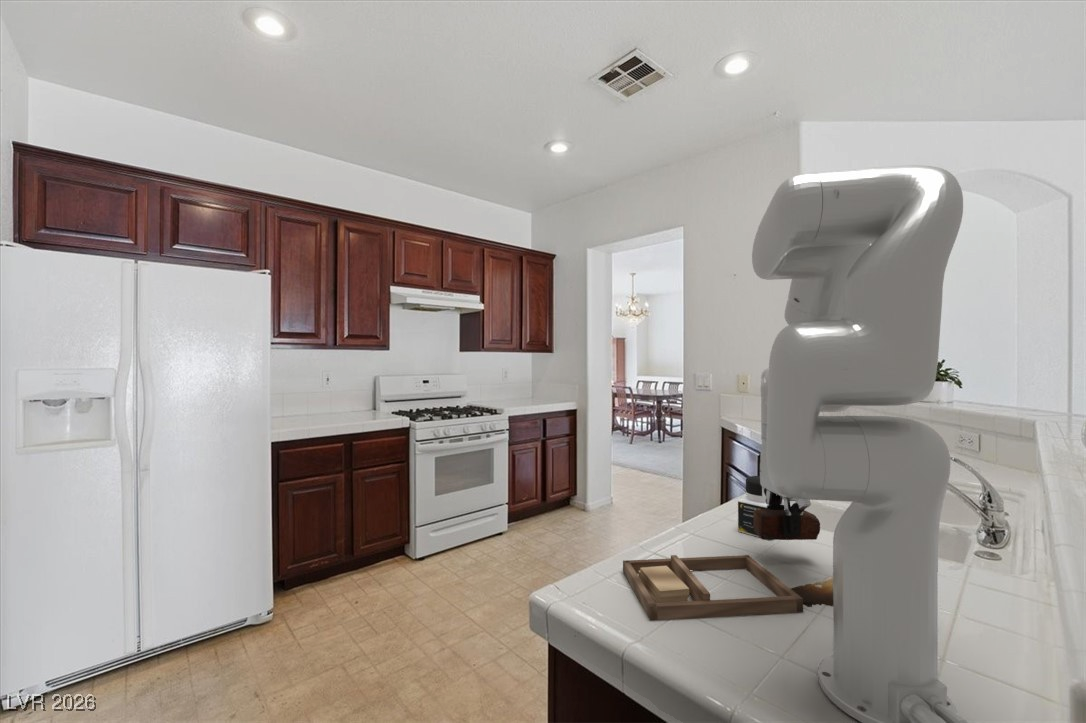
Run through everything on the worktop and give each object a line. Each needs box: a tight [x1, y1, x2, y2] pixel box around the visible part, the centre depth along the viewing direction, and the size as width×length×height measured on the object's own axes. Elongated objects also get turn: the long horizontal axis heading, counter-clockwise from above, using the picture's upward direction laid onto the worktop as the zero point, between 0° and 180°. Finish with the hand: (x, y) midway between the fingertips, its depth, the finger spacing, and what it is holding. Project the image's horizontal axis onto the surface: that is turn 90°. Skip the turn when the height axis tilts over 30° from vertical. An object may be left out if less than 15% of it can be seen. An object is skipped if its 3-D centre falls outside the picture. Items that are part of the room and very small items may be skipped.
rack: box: [622, 554, 804, 621], centre depth 78 cm, size 16×24×3 cm
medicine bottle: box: [737, 475, 784, 538], centre depth 104 cm, size 7×7×12 cm
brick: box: [753, 509, 821, 541], centre depth 89 cm, size 11×4×5 cm, turn 88°
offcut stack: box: [637, 566, 690, 603], centre depth 78 cm, size 10×5×3 cm, turn 9°
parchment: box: [789, 575, 833, 608], centre depth 79 cm, size 25×10×1 cm, turn 105°
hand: (783, 529), depth 89 cm, fingers closed on brick, 4 cm apart
